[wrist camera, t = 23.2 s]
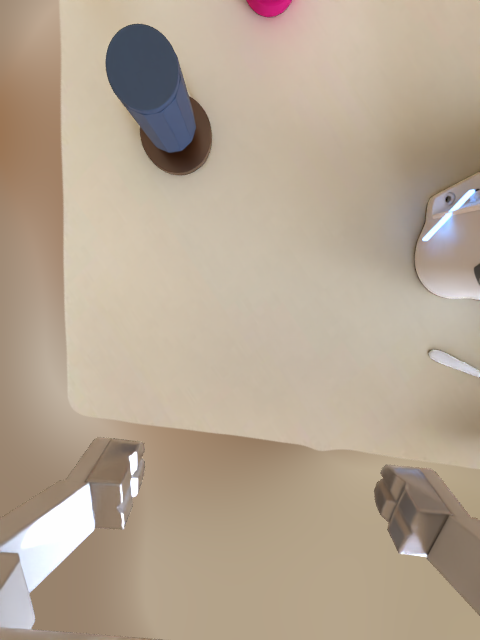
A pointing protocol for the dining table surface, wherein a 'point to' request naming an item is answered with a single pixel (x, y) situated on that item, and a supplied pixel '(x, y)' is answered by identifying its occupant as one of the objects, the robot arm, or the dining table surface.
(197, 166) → the peg stand
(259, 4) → the pepper mill
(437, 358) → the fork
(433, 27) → the dining table surface
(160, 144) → the blue cylinder
